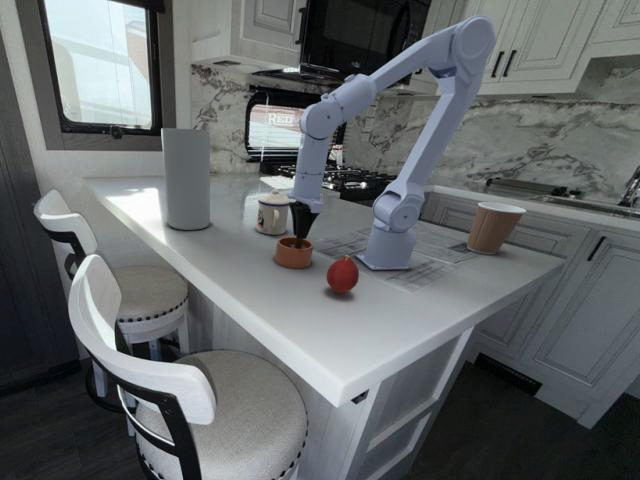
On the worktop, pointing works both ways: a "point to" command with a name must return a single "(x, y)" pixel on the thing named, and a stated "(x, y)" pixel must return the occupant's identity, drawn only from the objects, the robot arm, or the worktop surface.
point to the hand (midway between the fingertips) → (299, 236)
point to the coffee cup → (492, 226)
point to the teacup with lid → (272, 213)
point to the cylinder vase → (187, 177)
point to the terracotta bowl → (293, 253)
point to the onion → (342, 275)
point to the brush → (298, 244)
